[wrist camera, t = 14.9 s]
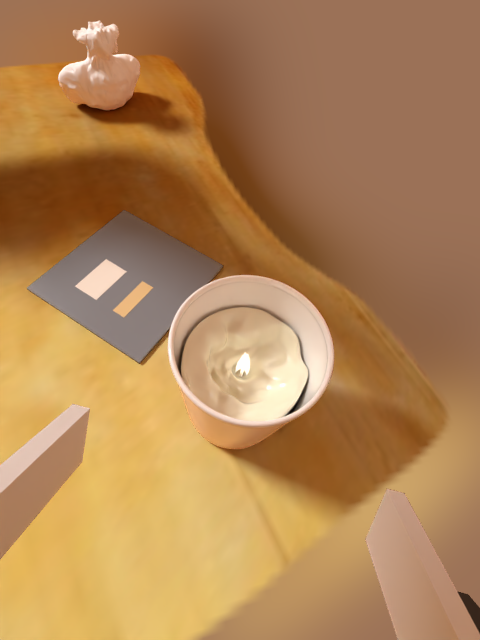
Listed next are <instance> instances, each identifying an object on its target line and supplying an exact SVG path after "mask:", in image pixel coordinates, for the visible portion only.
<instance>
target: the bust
mask: <svg viewBox="0 0 480 640" xmlns="http://www.w3.org/2000/svg"><path fill="white" fill-rule="evenodd" d="M73 35H74V37H75V38H76V39H77V40H78V42H80V43H84V44H85V45H86V47H87V49H88V53H87V55H88V56H87V59H86V60H84V61H81V62H76V63H73V64H69V65H67V66H65V67H64V68H63V69H62V71H61V72H60V73H59V76H58V80H59V84H60V87H61V88H62V90H63V92H64V93H65V95H66V96H67V97H68V99H69V100H70V101H72V102H73V103H77V104H86V105H88V106H89V107H92V108H98V109H102V110H115V109H117V108H119V107H122V106H123V105H124V104H125V103H126V102H127V101H128V100H129V99H131V97H132V96H133V91H134V88H135V85H136V82H137V80H138V77H139V75H140V64H139V62H138V60H137V59H136V58H134V57H133V56H131V55H128V54H117V55H112V52H115V53H118V50H117V46H118V45H117V42H116V40H117V37H118V36H119V32H118V27H117V26H116V25H114V24H112V25H109V26H106V27H104V26H103V24H102V23H101V21H98V22H88V30H87V29H86V28H81V30H74V31H73Z"/></svg>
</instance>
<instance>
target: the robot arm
mask: <svg viewBox="0 0 480 640" xmlns="http://www.w3.org/2000/svg"><path fill="white" fill-rule="evenodd" d="M89 411H90V408H86V407H82V406H79V405H75V404H72V405H71V406H70V407H69V408H68V409H66V410H65V411H64V412H63V413H62V414H60V415H59V416H58V417H57V418H56V419H54V420H53V421H52V422H51V423H50V424H49V425H47V426H46V427H45V428H44V429H43V430H41V431H40V432H39V433H38V434H37V435H35V436H34V437H33V438H32V439H31V440H30V441H28V442H27V443H26V444H25V445H24V446H22V447H21V448H20V449H19V450H18V451H16V452H15V453H14V454H13V455H12V456H11V457H9V458H8V459H7V460H6V461H5V462H3V463H2V464H1V465H0V559H1V558H2V557H3V556H4V554H5V553H6V552H7V551H8V550H9V548H10V547H11V546H12V545H13V544H14V542H15V541H16V540H17V539H18V538H19V536H20V535H21V534H22V533H23V532H24V530H25V529H26V528H27V527H28V526H29V525H30V523H31V522H32V521H33V520H34V519H35V517H36V516H37V515H38V514H39V513H40V511H41V510H42V509H43V508H44V507H45V505H46V504H47V503H48V502H49V501H50V499H51V498H52V497H53V496H54V495H55V493H56V492H57V491H58V490H59V489H60V488H61V486H62V485H63V484H64V483H65V482H66V480H67V479H68V478H69V477H70V476H71V474H72V473H73V472H74V471H75V470H76V468H77V467H78V466H79V465H80V464H81V462H82V459H83V452H84V445H85V438H86V432H87V425H88V418H89ZM365 540H366V543H367V546H368V549H369V552H370V555H371V558H372V562H373V565H374V568H375V571H376V574H377V577H378V580H379V583H380V586H381V589H382V593H383V596H384V599H385V602H386V605H387V608H388V611H389V614H390V617H391V620H392V624H393V627H394V630H395V633H396V636H397V639H398V640H480V608H479V607H478V606H477V604H476V603H475V602H474V601H473V600H472V599H471V597H470V596H469V595H468V594H464V593H461V592H457V590H456V588H455V587H454V585H453V583H452V581H451V579H450V577H449V576H448V574H447V572H446V570H445V568H444V566H443V564H442V562H441V560H440V559H439V557H438V555H437V553H436V551H435V549H434V547H433V545H432V544H431V542H430V540H429V538H428V536H427V534H426V532H425V530H424V529H423V527H422V525H421V523H420V521H419V520H418V518H417V516H416V514H415V512H414V510H413V508H412V506H411V505H410V502H409V501H408V499H407V497H406V496H405V493H402V492H398V491H395V490H391V489H386V492H385V494H384V496H383V499H382V501H381V503H380V506H379V508H378V511H377V513H376V515H375V517H374V520H373V522H372V524H371V527H370V529H369V531H368V534H367V536H366V539H365Z"/></svg>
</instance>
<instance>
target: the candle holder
mask: <svg viewBox="0 0 480 640" xmlns="http://www.w3.org/2000/svg"><path fill="white" fill-rule="evenodd" d="M168 356H169V362H170V366H171V369H172V372H173V375H174V377H175V379H176V381H177V383H178V386H179V389H180V392H181V395H182V398H183V401H184V404H185V407H186V410H187V413H188V415H189V418H190V420H191V422H192V424H193V426H194V427H195V429H196V430H197V431H198V433H199V434H200V435H201V436H202V437H203V438H205V439H206V440H207V441H209V442H210V443H212V444H214V445H216V446H219V447H222V448H227V449H243V448H247V447H251V446H253V445H256V444H258V443H259V442H261V441H263V440H264V439H266V438H267V437H269V436H270V435H272V434H273V433H274V432H276V431H277V430H279V429H280V428H282V427H283V426H284V425H286V424H287V423H289V422H290V421H292V420H294V419H296V418H298V417H300V416H301V415H303V414H304V413H305V412H307V411H308V410H309V409H310V408H312V407H313V406H314V405H315V404H316V402H317V401H318V400H319V399H320V398H321V396H322V395H323V393H324V392H325V390H326V388H327V386H328V384H329V381H330V379H331V376H332V372H333V366H334V346H333V341H332V337H331V334H330V331H329V328H328V326H327V324H326V322H325V320H324V318H323V317H322V315H321V314H320V312H319V311H318V310H317V308H316V307H315V306H314V305H313V304H312V303H311V302H310V301H309V300H308V299H307V298H306V297H305V296H304V295H302V294H301V293H300V292H298V291H297V290H295V289H294V288H292V287H290V286H288V285H286V284H284V283H282V282H279V281H277V280H274V279H271V278H267V277H262V276H255V275H236V276H229V277H224V278H221V279H218V280H215V281H212V282H210V283H208V284H206V285H204V286H202V287H201V288H199V289H198V290H196V291H195V292H194V293H193V294H191V295H190V296H189V297H188V298H187V299H186V300H185V302H184V303H183V304H182V305H181V307H180V308H179V310H178V311H177V313H176V315H175V317H174V319H173V322H172V324H171V328H170V332H169V337H168Z"/></svg>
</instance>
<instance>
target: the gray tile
mask: <svg viewBox="0 0 480 640" xmlns="http://www.w3.org/2000/svg"><path fill="white" fill-rule="evenodd" d="M222 268H223V265H222V264H220V263H218V262H216V261H214V260H213V259H211V258H209V257H207V256H206V255H204V254H202V253H200V252H198V251H197V250H195V249H193V248H191V247H190V246H188V245H186V244H184V243H182V242H181V241H179V240H177V239H175V238H173V237H172V236H170V235H168V234H166V233H165V232H163V231H161V230H159V229H157V228H156V227H154V226H152V225H150V224H149V223H147V222H145V221H143V220H141V219H140V218H138V217H136V216H134V215H133V214H131V213H129V212H127V211H125V210H123V211H122V212H121V213H120V214H118V215H117V216H116V217H115V218H113V219H112V220H111V221H110V222H108V223H107V224H106V225H105V226H103V227H102V228H101V229H100V230H98V231H97V232H96V233H95V234H93V235H92V236H91V237H90V238H88V239H87V240H86V241H85V242H83V243H82V244H81V245H80V246H78V247H77V248H76V249H75V250H73V251H72V252H71V253H70V254H68V255H67V256H66V257H65V258H63V259H62V260H61V261H60V262H58V263H57V264H56V265H55V266H53V267H52V268H51V269H50V270H49V271H47V272H46V273H45V274H44V275H42V276H41V277H40V278H39V279H37V280H36V281H35V282H34V283H32V284H31V285H30V286H29V287H27V289H28V290H29V291H30V292H32V293H33V294H35V295H36V296H38V297H39V298H41V299H42V300H44V301H45V302H47V303H49V304H50V305H52V306H53V307H55V308H56V309H58V310H59V311H61V312H62V313H64V314H65V315H67V316H68V317H70V318H71V319H73V320H74V321H76V322H77V323H79V324H80V325H82V326H83V327H85V328H86V329H88V330H89V331H91V332H92V333H94V334H95V335H97V336H98V337H100V338H101V339H103V340H104V341H106V342H107V343H109V344H110V345H112V346H113V347H115V348H116V349H118V350H119V351H121V352H123V353H124V354H126V355H127V356H129V357H130V358H132V359H133V360H135V361H136V362H138V363H139V364H140V363H141V362H142V360H143V359H144V358H145V357H146V356H147V355H148V353H149V352H150V351H151V350H152V349H153V348H154V347H155V345H156V344H157V343H158V342H159V341H160V340H161V338H162V337H163V336H164V335H165V334H166V333H167V331H168V330H169V329H170V328H171V324H172V322H173V319H174V317H175V315H176V313H177V311H178V310H179V308H180V307H181V305H182V304H183V303H184V302H185V300H186V299H187V298H188V297H189V296H190V295H191V294H193V293H194V292H195V291H196V290H198V289H199V288H201V287H202V286H204V285H206V284H208V283H210V282H211V281H212V279H213V278H214V277H215V276H216V275H217V274H218V272H219V271H220V270H221V269H222Z"/></svg>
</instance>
